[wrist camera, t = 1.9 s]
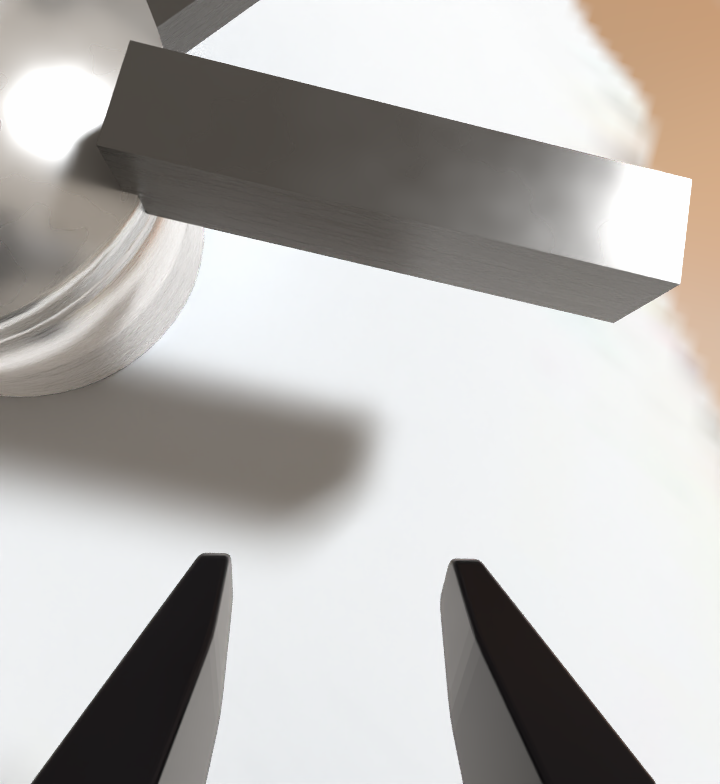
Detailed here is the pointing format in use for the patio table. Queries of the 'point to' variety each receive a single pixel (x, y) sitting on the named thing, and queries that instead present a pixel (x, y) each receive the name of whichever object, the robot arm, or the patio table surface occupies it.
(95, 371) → the cooker pot
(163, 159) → the cooker lid
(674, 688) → the patio table surface
